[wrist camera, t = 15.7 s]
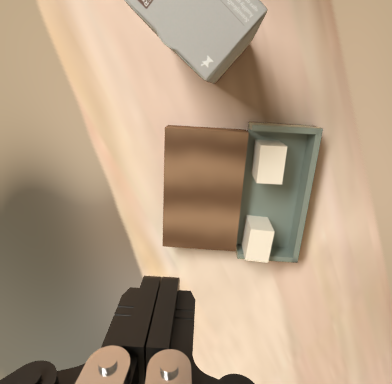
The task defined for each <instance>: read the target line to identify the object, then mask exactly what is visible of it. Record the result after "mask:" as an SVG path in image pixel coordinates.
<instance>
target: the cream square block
mask: <svg viewBox="0 0 392 384" xmlns="http://www.w3.org/2000/svg"><path fill="white" fill-rule="evenodd" d="M273 237H274V229H273V227H272V225H271V223H270V221H269V219H268V217H261V216H252V215H246V220H245V226H244V231H243V237H242V243H241V244H242V248H243V253H244V258H245V260H248V261H256V262H265V263H268V260H269V256H270V251H271V246H272V242H273Z"/></svg>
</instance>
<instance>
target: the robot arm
mask: <svg viewBox="0 0 392 384" xmlns="http://www.w3.org/2000/svg"><path fill="white" fill-rule="evenodd" d="M179 283H180V279H179V278H174V277H156V276H144V277H143V280H142V283H141V286H140V288H129V289H128V290H127V291H126V292H125V293H124V294H123V295H122V297H121V299H120V302H119V304H118V307H117V309H116V312H115V316H114V317H113V319H112V322H111V324H110V327H109V329H108V332H107V334H106V337H105V339H104V342H103V344H102V347H101V348H100V349H98V350H97V351H95V352H94V353H93V354H92V355H91V356H90V357H89V358H88V360H87V362H86V363H85V364H83V365H80V366H77V367H74V368H70V369H66V370H61V371H57V370H56V368H55V366H54V365H53V364H52V363H50V362H47V361H35V362H31V363H28V364H26V365H24V366H22V367H21V368H19V369H18V370H16V371H14V372H13V373H11V374H10V375H8V376H6V377H5V378H3V379H2V380H0V384H254V383H253V382H252V381H251V380H250V379H249V378H247V377H245V376H243V375H239V374H228V375H225V376H224V377H222V378H221V379H219V380H218V379H216V378H213V377H211V376H209V375H207V374H205V373H203V372H202V371H201V370H200V369H199V368H198V367H197V366H196V364H195V362H194V360H193V356H192V351H193V333H194V314H195V299H194V297H193V295H192V293H191V291H182V290H179Z"/></svg>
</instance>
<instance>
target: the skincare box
mask: <svg viewBox="0 0 392 384" xmlns="http://www.w3.org/2000/svg"><path fill="white" fill-rule="evenodd" d="M125 2H126V3H127V4H128V5H129V6H130V7H131V8H132V9H133V10H134V11H135V13H136V14H137V15H138V16H139V17H140V18H141V19H142V20H143V21H144V22H145V23H146V24H147V25H148V26H149V27H150V28H151V29H152V30H153V31H154V32H155V33H156V35H157V36H158V37H159V38H160V39H161V41H162V42H163V43H164V44H165V45H166V46H167V47H169V48H170V49H171V50H172V51H173V52H175V53H176V54H177V55H178V56H179V57H180V58H181V59H182V60H183V61H184V62H185V63H186V64H187V65H189V66H190V67H191V68H192V69H193V70H194V71H195V72H196V73H197V74H198V75H199V76H200V77H201V78H202V79H203V80H205V81H208V82H211V83H216V82H217V80H218V79H219V78H220V77H221V76H222V75H223V74H224V73H225V72H226V70H227V69H228V68H229V67H230V66H231V65H232V64H233V62H234V61H235V60H236V59H237V58H238V57H239V56H240V54H241V53H242V52H243V51H244V50H245V49H246V48H247V47H248V45H249V44H250V43H251V41H252V40H253V38H254V36H255V34H256V32H257V30H258V28H259V26H260V24H261V22H262V20H263V19H264V17H265V15H266V13H267V8H266V7H265V6H264V5H263V3H262V2H261V1H260V0H125Z"/></svg>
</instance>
